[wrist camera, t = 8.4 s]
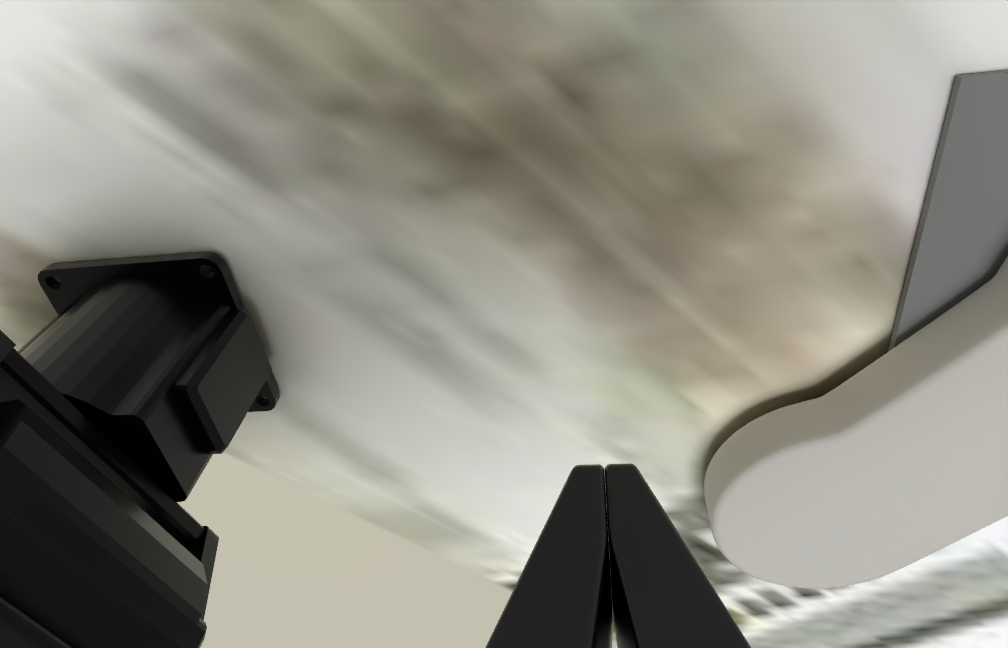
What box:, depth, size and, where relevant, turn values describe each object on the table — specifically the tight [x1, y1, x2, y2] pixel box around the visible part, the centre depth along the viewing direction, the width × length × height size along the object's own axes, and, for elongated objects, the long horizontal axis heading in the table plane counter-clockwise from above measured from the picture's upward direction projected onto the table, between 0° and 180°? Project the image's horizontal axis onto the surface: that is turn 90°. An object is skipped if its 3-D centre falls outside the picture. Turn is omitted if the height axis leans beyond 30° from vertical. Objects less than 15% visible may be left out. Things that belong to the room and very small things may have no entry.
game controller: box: [704, 256, 1008, 588], centre depth 21 cm, size 20×2×8 cm
